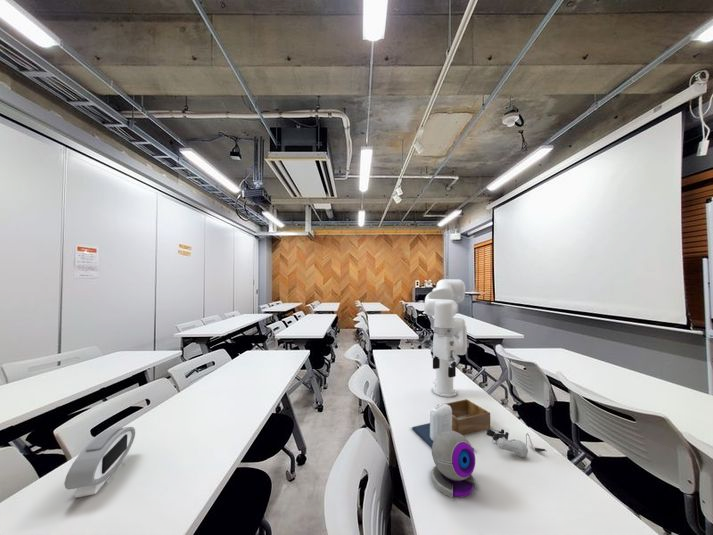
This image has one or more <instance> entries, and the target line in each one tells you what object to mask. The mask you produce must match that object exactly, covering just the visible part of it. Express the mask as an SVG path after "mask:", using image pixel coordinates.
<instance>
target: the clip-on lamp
mask: <svg viewBox="0 0 713 535" xmlns="http://www.w3.org/2000/svg"><path fill="white" fill-rule="evenodd" d="M509 434H510V433H509V432H508V431H506V432H505V429H502V428H501V429H500V430H496V429H491V428H489V429H486V436H488V437H491V441H492V444H493V445H495V444H496V445H497V447H498V448H499V449H500V450H504V451H507V452H511V453H514V454H515V455H516V456H518V457H519V458H525V457H527V455H528V453H529V449H528V447H527V446H528V439H529V442H530V445H531V447H532V448H533V449H534V450H535V451H538V452H541V453H543V452H548V450H547V449H545V448H539V447H534V445H533V443H532V440H531V436H530V434H529V433H528V432H526V434H525V442H524V441H522V440H520V439H515V438H514V439H509Z"/></svg>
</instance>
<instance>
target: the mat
mask: <svg viewBox="0 0 713 535" xmlns="http://www.w3.org/2000/svg"><path fill="white" fill-rule="evenodd" d="M411 430H412V431H414V433H415V434H416V435H418V437H419V438H420V439H421V440H422V441H424V443H426V444H427V446H428V447H430V448H431V449H432V445H433V440H432V439H431V438H430V422H429V423H424V424H420V425H419V424H418V425H416V426H412V429H411ZM472 448H473V451H474V452H475V448H474V447H473V446H472Z"/></svg>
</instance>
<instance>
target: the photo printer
mask: <svg viewBox="0 0 713 535" xmlns="http://www.w3.org/2000/svg"><path fill="white" fill-rule="evenodd" d="M437 405H438V406H437ZM437 405H436V406H434V407H433V408H432V409H431V410H430V412H429V423H430V438H431V439H432V440H433V441H434V439H435V438H436V436H437V435H438V434H440V433H441V432H443V431H448V430H450V431H452V409H451V407H450V406H449V405H447V404H446V403H442V404H441V403H440V404H437Z"/></svg>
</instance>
